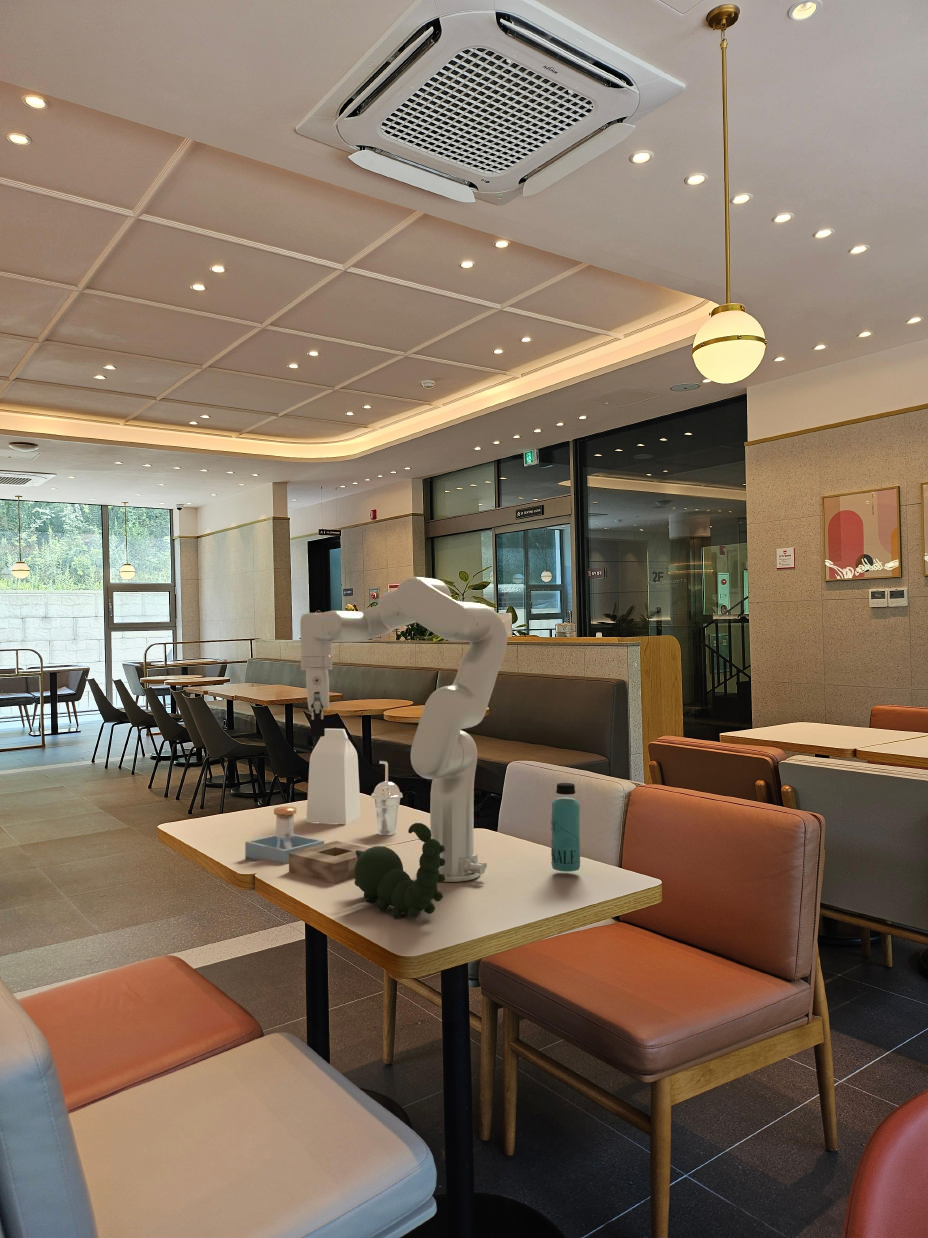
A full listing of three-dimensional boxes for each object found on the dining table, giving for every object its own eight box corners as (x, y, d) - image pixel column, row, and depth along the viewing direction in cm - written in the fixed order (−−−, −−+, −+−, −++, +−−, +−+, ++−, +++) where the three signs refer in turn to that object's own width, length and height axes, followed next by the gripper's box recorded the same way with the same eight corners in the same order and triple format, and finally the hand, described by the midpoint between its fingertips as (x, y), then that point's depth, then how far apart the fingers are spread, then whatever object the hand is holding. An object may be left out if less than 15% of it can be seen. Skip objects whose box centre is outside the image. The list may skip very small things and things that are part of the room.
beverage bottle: (571, 869, 185) (571, 780, 186) (586, 877, 179) (586, 784, 180) (545, 872, 183) (545, 781, 184) (559, 880, 177) (559, 786, 177)
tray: (324, 857, 196) (324, 840, 196) (284, 869, 186) (284, 851, 186) (284, 848, 204) (284, 832, 204) (245, 859, 195) (245, 842, 195)
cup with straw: (409, 833, 220) (409, 758, 221) (382, 839, 214) (382, 761, 215) (389, 828, 226) (389, 755, 227) (362, 833, 220) (362, 758, 221)
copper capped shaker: (300, 855, 195) (300, 808, 195) (283, 860, 191) (283, 812, 191) (286, 851, 198) (286, 805, 198) (268, 856, 194) (269, 809, 194)
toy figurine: (453, 928, 152) (372, 887, 170) (459, 827, 151) (377, 796, 170) (413, 941, 146) (334, 896, 164) (419, 835, 145) (339, 802, 163)
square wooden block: (380, 874, 182) (380, 850, 182) (334, 889, 171) (334, 863, 171) (335, 863, 190) (335, 841, 191) (288, 877, 179) (288, 853, 179)
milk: (306, 822, 234) (306, 730, 234) (322, 814, 245) (322, 726, 246) (345, 825, 231) (346, 731, 232) (360, 816, 242) (360, 727, 243)
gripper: (332, 663, 193) (334, 737, 192) (331, 663, 210) (333, 730, 209) (300, 664, 191) (301, 738, 191) (301, 663, 208) (302, 732, 208)
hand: (317, 734), depth 200 cm, fingers open, 9 cm apart
